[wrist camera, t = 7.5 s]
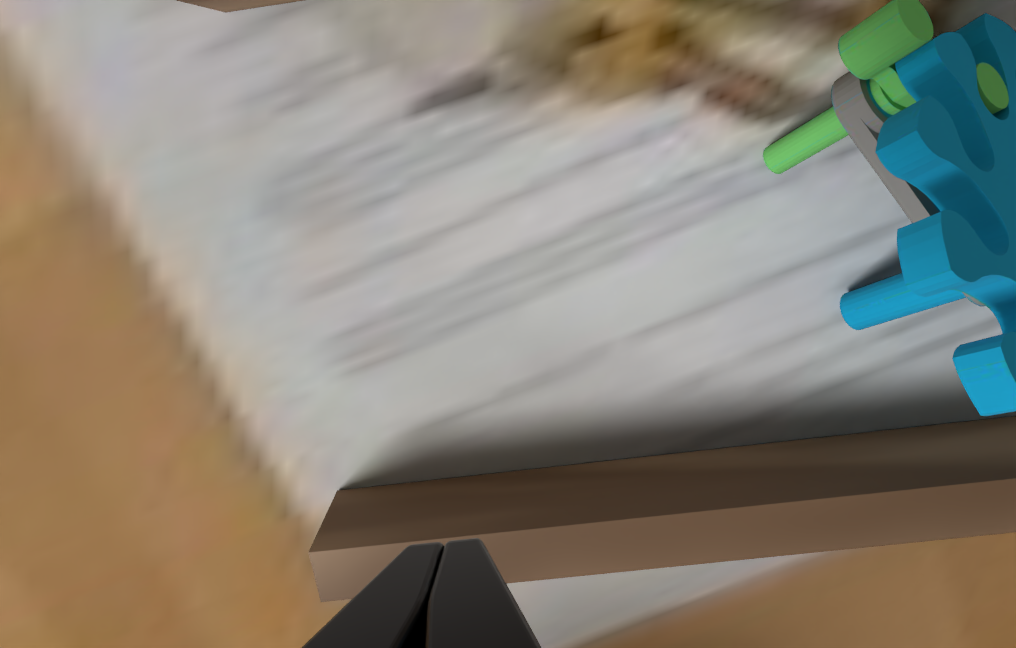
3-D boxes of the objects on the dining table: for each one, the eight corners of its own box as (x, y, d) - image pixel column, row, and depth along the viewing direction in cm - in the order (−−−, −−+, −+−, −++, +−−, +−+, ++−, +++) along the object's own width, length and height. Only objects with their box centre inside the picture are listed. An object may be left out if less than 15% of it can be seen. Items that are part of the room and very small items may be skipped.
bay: (1328, 430, 20) (1461, 487, 17) (347, 534, 22) (321, 602, 19) (1481, -261, 15) (1700, -340, 13) (209, -58, 17) (146, -86, 14)
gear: (1272, 287, 17) (1228, 616, 12) (1010, 349, 22) (896, 601, 17) (1010, -104, 16) (834, 65, 11) (797, 52, 21) (604, 220, 16)
